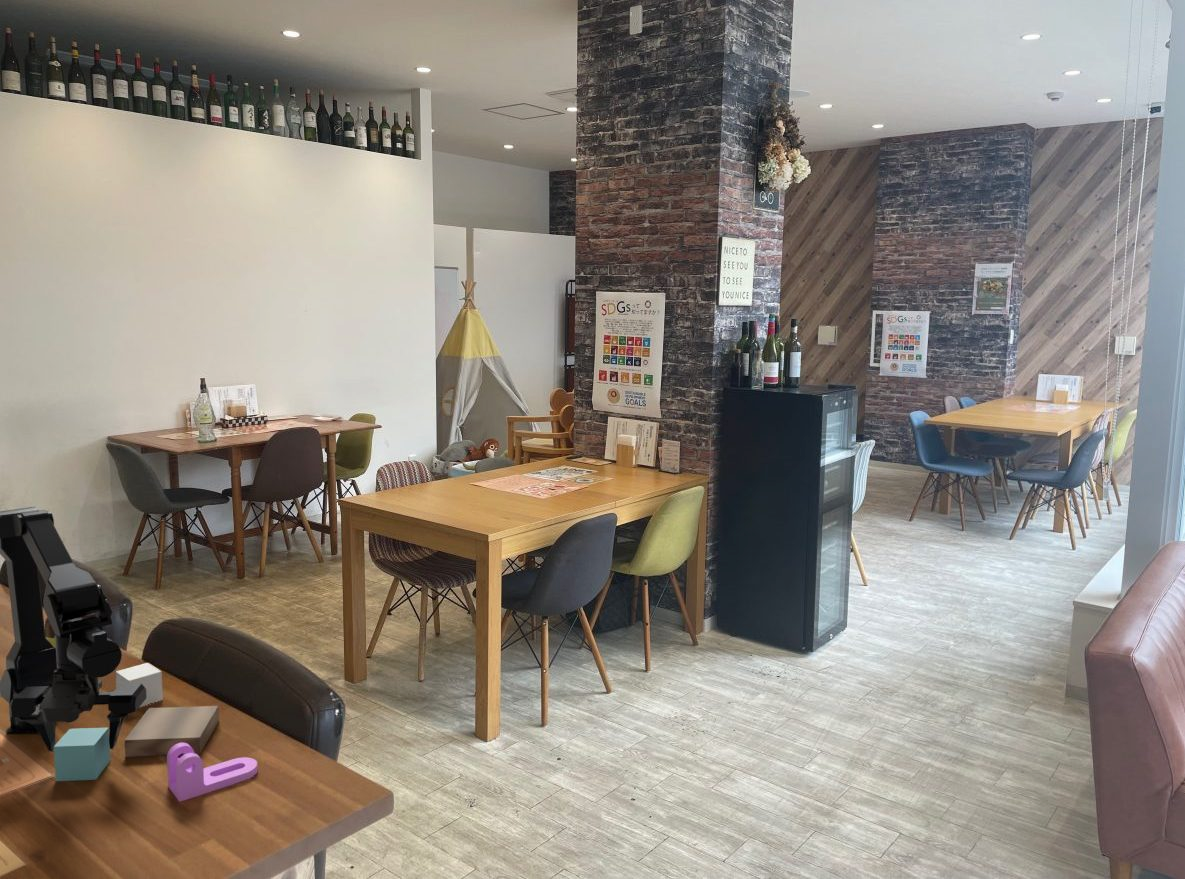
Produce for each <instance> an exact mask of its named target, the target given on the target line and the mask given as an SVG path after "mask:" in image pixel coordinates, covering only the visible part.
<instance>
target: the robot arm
mask: <svg viewBox="0 0 1185 879" xmlns="http://www.w3.org/2000/svg"><path fill="white" fill-rule="evenodd" d="M54 519H55V518H54V516H53V513H52V511H51V510H45V509H41V510H39V509H38V508H37V506H29V507H23V508H17V509H9V510H0V556H1V557H2V558H3V559H4V561H5V564H6V574H7V582H8V591H9V599H10V609H11V610H10V611H11V616H12V617H11V618H12V627H13V635H14V636H13V637H14V643H13V644H12V646H11V648H10V650H9V651H8V653H7V655H6V657H5V665H6V667H5V670H4V671H3V673H2V676H1V677H0V697H1V698H2V699H4V700H5V701H6V702H7V703H8V712H9V724H10V726H8V727H7V729H6V730H5V733H6V734H23V733H24V734H25V733H38V734H39V736H40V738H41V739H42V742H44V745H45V746H46V748H47V750H48V752H54V746H55V745H56V723H60V722H61V723H73V722H75V721H77V720H78V719H79V718H80V714H83V713H84V712H90V711H92V709H93V707H94V706H96V705H98V706H99V705H100V706H101V705H103V706H104V705H107V710H108V711H109V713H108V714H107V716H106V718H107V720H108V721H109V745H110V750H114V748H115V747H116V744H117V743H118V742H117V741H118V739H119V736H120V732H121V730H122V728H123V724H124V722H125V719H126V718H127V717H129V715H131V714H133V713H136V712H137V711H138V710H139V707H140V706H141V704H142V703H143V702H144V701H145V699H146V698H147V697H146V688H145V687H144V686H143V685H142V683H141V684H120V685H119V686H118V687H116V688H115V689H114V691H102V692H101V691H100V689H101V688H102V687H103V681H102V680H99V679H100V678H104V677H106V676H108V675H110V674H112V673H113V672H114V671H115V670H116V669H117V668H118V666H119V665H120V663H121V661H122V655H123V653H122V649H121V647H120V646H119V644H117V642H115V641H113V640H112V639H110V638H108V633H107V632H106V631H104V630H103V627H107V626H111V625H113V619H112V615H113V611H112V608H111V606H110V604H109V601H108V598H107V596H106V595H105V592H104V590H103V589H102V587H101V585H100V584H97V582H96V580H95V579H94V578H93V576H92V575H91V573H89V572H88V571H86V570H84V569H82V568H79V567H77V565H76V564H75V563H74V561H73V559H72V557H71V555H70V552H69V551H68V549H67V547H66V546H65V544H64V541H63V540H62V538H61V536H60V534H59V532H58V530H57V529H56V527H55V520H54ZM40 575H41V577H42V579H43V581H44V583H45V589H44V590H45V591H44V594H43V595H44V596H43V600H42V593H41V592H42V591H41V582H40ZM44 612H45V614H46V618H47V617H48V620H49V622H50V624H51V626H52V628H53V630H54V633H55V644H56V648H55V647H54V646H53V645H52V644H51V643H50V642H49V641H48V640H47V639H46V635H45V621H44V620H45V619H44ZM97 612H98V615H96V614H97ZM93 615H95V616H93ZM88 616H91V617H88ZM84 617H86V618H84ZM140 708H141V707H140Z"/></svg>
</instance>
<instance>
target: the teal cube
mask: <svg viewBox="0 0 1185 879" xmlns="http://www.w3.org/2000/svg"><path fill="white" fill-rule="evenodd" d="M53 755H54V756H53V758H54V769H55V770H54V773H55V774H54V775H55V782H71V781H93V780H97V779H98V778H99V776H100V775H101V774H102V772H103V771H104V770H105V769H106V768H107V766H108V764H110V762H111V749H110V745H109V727H88V728H87V727H86V728H85V727H82V728H80V727H79V728H69V729H68V731H66V733H64V734H63V736H62V737H61V738H60V739H59V740H58V741H57V742H56V743H55V746H54V750H53Z"/></svg>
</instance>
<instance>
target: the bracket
mask: <svg viewBox="0 0 1185 879" xmlns="http://www.w3.org/2000/svg"><path fill="white" fill-rule="evenodd" d="M182 753H184V754H182ZM180 754H182V755H180ZM179 756H180V757H179ZM166 763H167V764H166V766H167V785H168V786H167V787H168V789H169V790H170V791H171V793H172V794H173V796H174V797H175V798H176V799H177V800H178V802H179V803H181V802H183V801H187V800H189V799H192V798H195V797H199V796H202V795H205V794H208V793H212V792H214V791H217V790H221V789H222V788H226V787H229V786H232V785H235V783H236V784H238V782H239V783H241V781H242V782H244V780H245V781H247V780H246V779H248V780H250V779H251V777H252V778H254V777H255V776H256V775H255V774H257V773H258V761H257V760H256V759H254V758H251V757H245V756H244V757H237V758H233V759H229V760H226V761H224V762H220V763H219V762H218V763H217V764H213V765H209V766H207V767H204V761H203V759H202V758H201V757H200V755H199V754H195V753H194V750H193V749H192V748H191V746H190V745H189V744H187V743H178V744H176V745H174V746H173V747H172V748H171V749H170V750H169V752H168V754H167V755H166ZM254 775H255V776H254ZM249 778H250V779H249Z"/></svg>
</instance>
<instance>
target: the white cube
mask: <svg viewBox="0 0 1185 879" xmlns="http://www.w3.org/2000/svg"><path fill="white" fill-rule="evenodd" d="M162 676H163V675H162V670H160V669H159V668H157V667H155V666H154V665H153V664H151V663H150V662H145V663H142V664H138V665H134V666H131V667H127V668H123V669H119V670H116V671H115V681H116V682H115V685H116V688H117V687H118V686H119V685H120V684H141V683H142V685H143V686H144V687H145V688H146V697H147V698H146V699H145V701H144V702H143V703H142V704H141V706H140V708H143V707H146V706H149V705H151V704H150V703H153V704H155V703H154V702H156V703H159V702H162V701H164V700H163V699H164V696H163V695H164V694H163V677H162ZM161 700H162V701H161ZM158 701H159V702H158ZM148 704H149V705H148ZM145 705H146V706H145ZM142 706H143V707H142Z"/></svg>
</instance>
